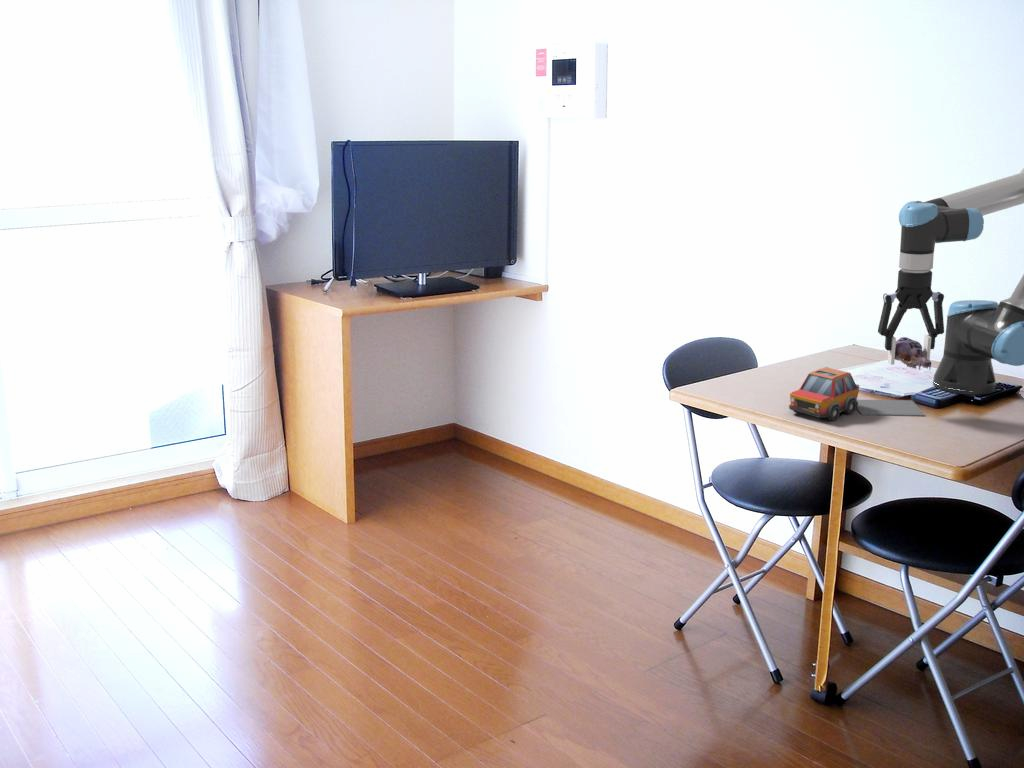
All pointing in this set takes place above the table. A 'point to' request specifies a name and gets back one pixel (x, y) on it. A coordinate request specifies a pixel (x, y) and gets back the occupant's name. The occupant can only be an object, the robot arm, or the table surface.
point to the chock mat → (889, 408)
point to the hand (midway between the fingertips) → (908, 362)
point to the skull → (911, 353)
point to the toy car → (826, 394)
